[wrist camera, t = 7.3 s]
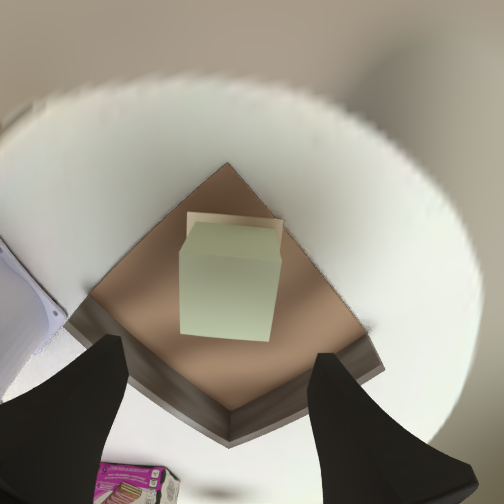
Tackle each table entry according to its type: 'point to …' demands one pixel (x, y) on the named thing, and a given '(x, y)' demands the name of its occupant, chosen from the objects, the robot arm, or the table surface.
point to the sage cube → (228, 281)
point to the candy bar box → (135, 485)
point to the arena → (221, 349)
